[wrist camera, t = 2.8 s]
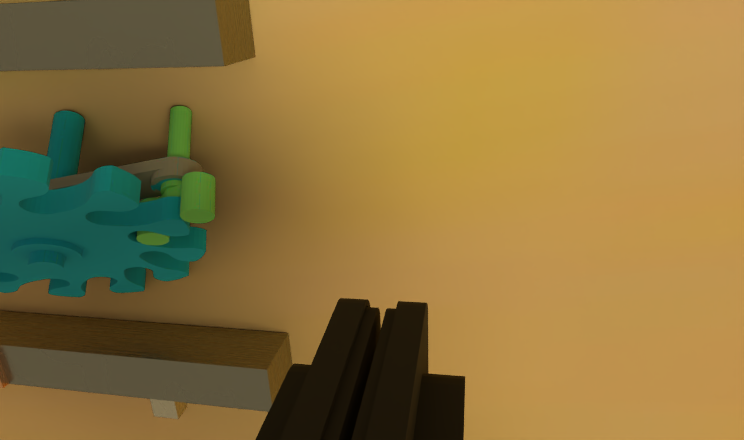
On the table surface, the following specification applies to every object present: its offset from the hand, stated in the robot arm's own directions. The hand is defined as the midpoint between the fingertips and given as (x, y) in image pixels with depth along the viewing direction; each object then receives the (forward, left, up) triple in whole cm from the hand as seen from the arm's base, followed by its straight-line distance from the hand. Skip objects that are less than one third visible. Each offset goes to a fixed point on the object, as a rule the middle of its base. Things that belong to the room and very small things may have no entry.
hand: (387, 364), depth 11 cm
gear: (0, +12, -10) cm, 16 cm away
